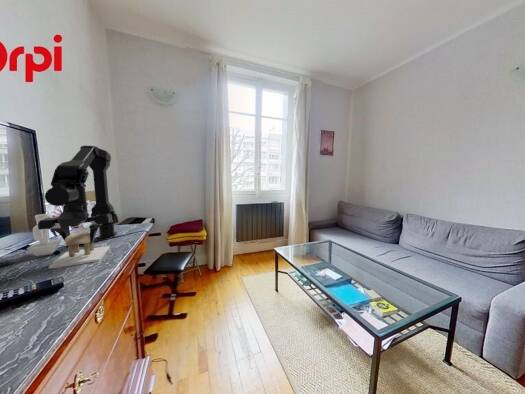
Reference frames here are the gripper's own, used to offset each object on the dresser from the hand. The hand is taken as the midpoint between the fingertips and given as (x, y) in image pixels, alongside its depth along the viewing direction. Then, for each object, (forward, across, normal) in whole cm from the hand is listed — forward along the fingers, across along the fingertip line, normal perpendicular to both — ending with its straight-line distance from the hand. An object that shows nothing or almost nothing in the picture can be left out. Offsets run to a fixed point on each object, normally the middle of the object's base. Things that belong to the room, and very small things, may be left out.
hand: (81, 244), depth 72 cm
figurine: (+5, -14, +11) cm, 18 cm away
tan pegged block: (+4, 0, 0) cm, 4 cm away
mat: (+5, 0, 0) cm, 5 cm away
